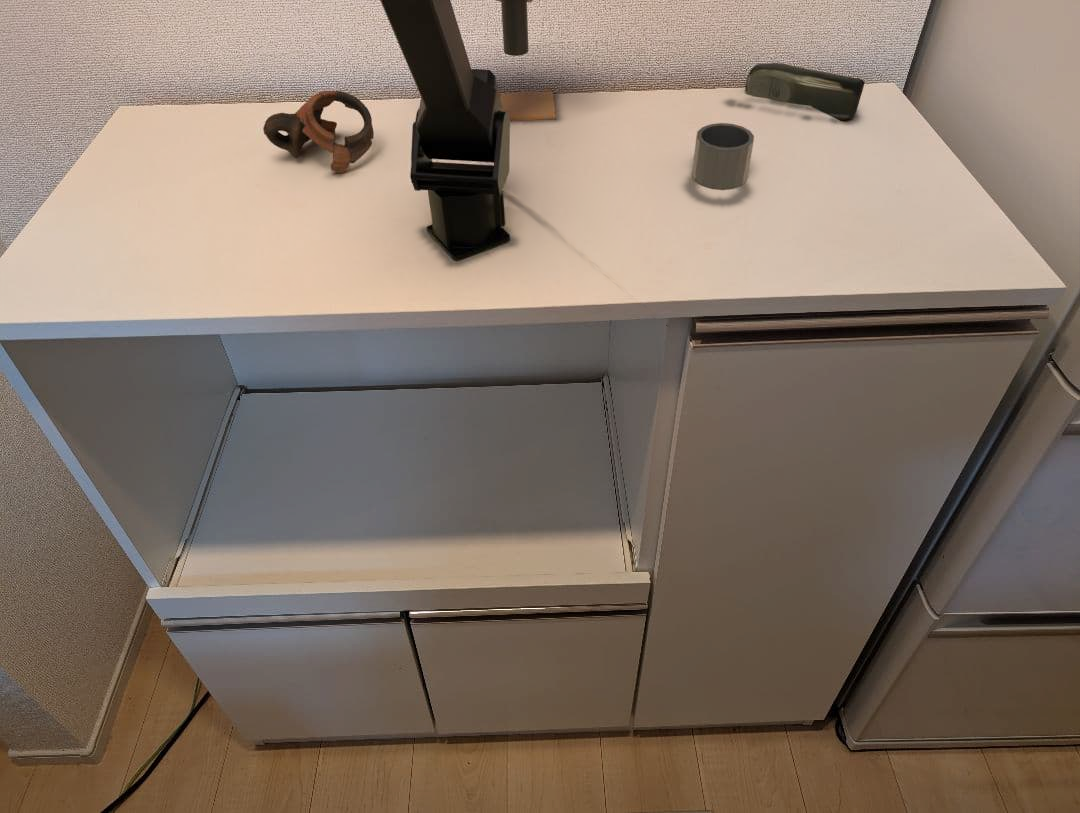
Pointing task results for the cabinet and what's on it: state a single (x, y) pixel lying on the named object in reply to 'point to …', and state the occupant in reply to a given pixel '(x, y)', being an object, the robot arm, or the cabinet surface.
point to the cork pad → (529, 105)
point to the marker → (515, 27)
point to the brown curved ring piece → (321, 129)
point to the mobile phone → (806, 88)
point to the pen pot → (722, 156)
